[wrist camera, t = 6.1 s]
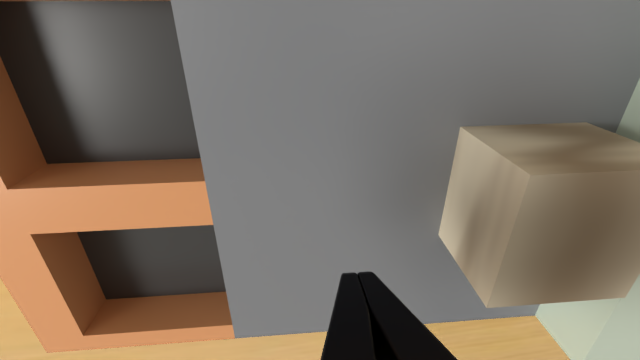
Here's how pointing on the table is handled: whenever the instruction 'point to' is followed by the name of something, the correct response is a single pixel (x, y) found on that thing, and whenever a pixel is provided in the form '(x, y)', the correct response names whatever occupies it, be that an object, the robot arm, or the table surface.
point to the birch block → (544, 213)
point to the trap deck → (278, 157)
